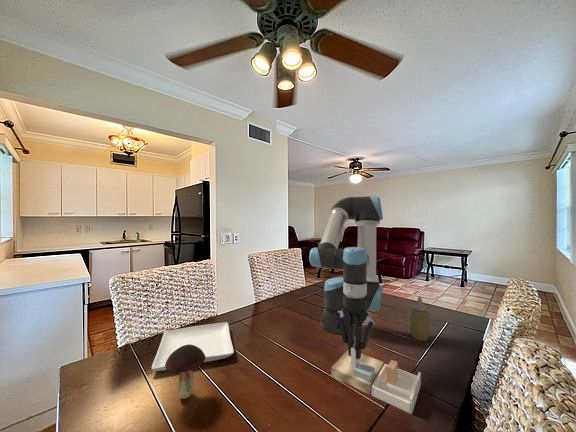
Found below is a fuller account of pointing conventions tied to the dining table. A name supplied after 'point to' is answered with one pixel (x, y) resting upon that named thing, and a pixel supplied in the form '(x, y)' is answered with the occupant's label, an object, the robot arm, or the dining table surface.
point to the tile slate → (364, 372)
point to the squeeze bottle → (420, 321)
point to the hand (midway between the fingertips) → (354, 366)
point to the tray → (397, 389)
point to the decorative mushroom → (185, 367)
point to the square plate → (196, 343)
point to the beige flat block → (346, 373)
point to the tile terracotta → (392, 372)
